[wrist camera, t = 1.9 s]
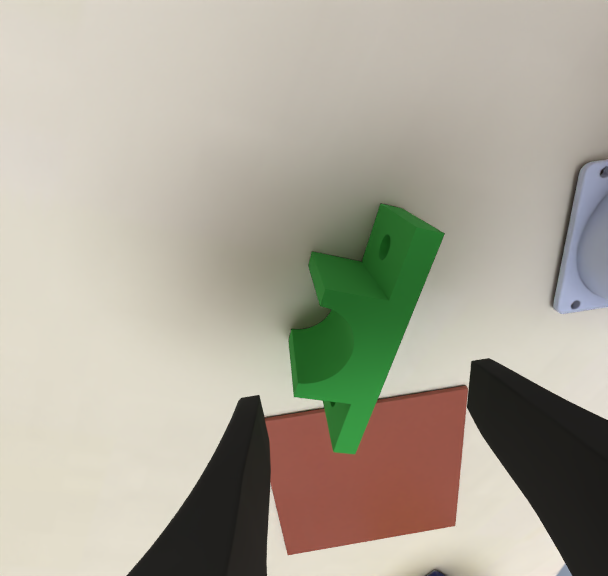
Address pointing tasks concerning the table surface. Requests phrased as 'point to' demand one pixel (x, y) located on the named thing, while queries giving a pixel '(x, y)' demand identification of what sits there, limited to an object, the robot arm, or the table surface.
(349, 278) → the pipe clamp
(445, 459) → the napkin
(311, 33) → the table surface
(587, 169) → the robot arm
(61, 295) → the table surface
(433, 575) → the supplement box
